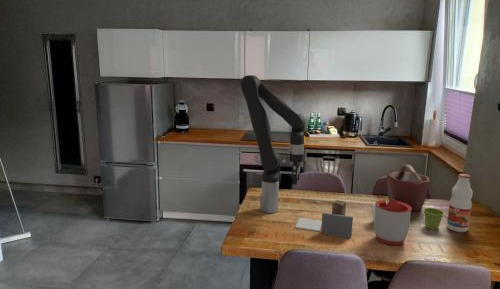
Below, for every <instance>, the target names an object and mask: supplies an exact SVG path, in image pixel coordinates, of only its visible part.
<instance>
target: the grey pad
mask: <svg viewBox="0 0 500 289" xmlns="http://www.w3.org/2000/svg"><path fill="white" fill-rule="evenodd" d="M294 228H295V229H301V230H307V231H314V232H320V233H321V228H322V220H316V219H309V218H305V217H304V218H303V217H299V219H298V220H297V222H296V224H295V226H294Z"/></svg>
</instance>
